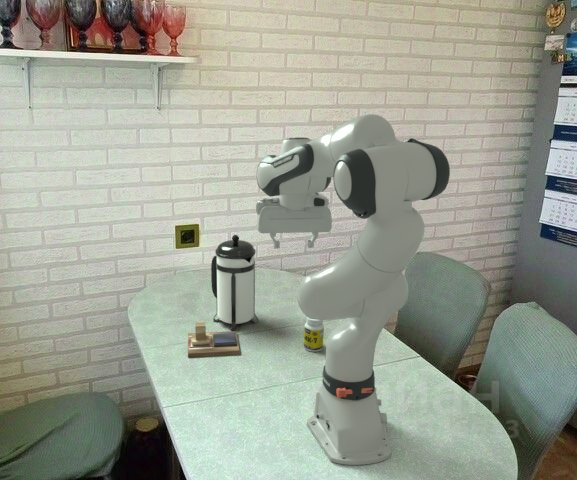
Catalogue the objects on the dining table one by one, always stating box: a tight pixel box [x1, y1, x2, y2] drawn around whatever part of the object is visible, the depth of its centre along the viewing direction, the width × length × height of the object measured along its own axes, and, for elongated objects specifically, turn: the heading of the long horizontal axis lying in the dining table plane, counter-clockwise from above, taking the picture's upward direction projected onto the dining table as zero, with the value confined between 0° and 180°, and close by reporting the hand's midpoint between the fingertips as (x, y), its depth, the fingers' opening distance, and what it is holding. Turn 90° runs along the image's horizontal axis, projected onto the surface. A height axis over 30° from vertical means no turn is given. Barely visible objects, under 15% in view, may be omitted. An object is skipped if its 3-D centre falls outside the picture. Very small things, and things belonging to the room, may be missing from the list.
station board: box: [187, 330, 241, 358], centre depth 171 cm, size 13×15×2 cm
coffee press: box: [210, 234, 259, 331], centre depth 184 cm, size 17×16×30 cm
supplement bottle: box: [303, 316, 325, 353], centre depth 170 cm, size 6×6×10 cm
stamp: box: [192, 321, 210, 346], centre depth 170 cm, size 5×5×6 cm
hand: (293, 247), depth 155 cm, fingers open, 8 cm apart
